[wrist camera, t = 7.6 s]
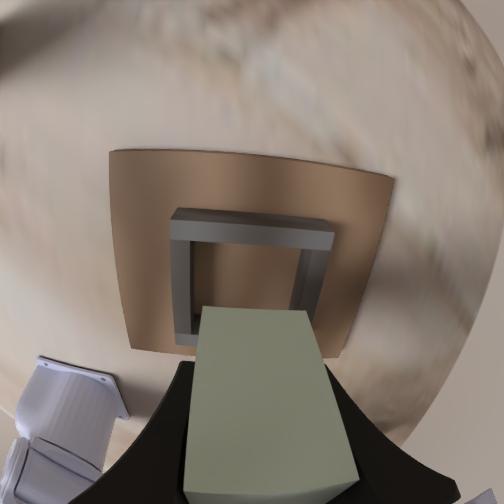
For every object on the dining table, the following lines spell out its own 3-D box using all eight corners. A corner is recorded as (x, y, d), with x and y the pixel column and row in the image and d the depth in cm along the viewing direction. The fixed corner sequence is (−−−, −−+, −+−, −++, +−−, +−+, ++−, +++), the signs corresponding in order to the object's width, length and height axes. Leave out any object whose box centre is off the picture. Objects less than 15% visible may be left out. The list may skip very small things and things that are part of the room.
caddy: (134, 339, 20) (124, 367, 17) (116, 149, 14) (92, 156, 11) (335, 349, 21) (345, 376, 19) (386, 175, 15) (412, 187, 13)
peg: (203, 372, 12) (195, 515, 6) (202, 305, 10) (183, 490, 4) (287, 375, 12) (312, 510, 6) (306, 310, 11) (359, 479, 5)
